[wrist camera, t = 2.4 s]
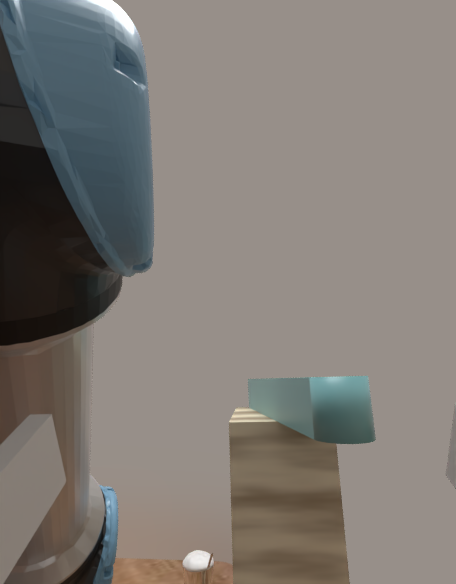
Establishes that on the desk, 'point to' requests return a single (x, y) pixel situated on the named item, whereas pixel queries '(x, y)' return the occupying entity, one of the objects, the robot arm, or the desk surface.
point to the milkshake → (198, 568)
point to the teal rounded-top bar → (318, 406)
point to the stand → (284, 505)
